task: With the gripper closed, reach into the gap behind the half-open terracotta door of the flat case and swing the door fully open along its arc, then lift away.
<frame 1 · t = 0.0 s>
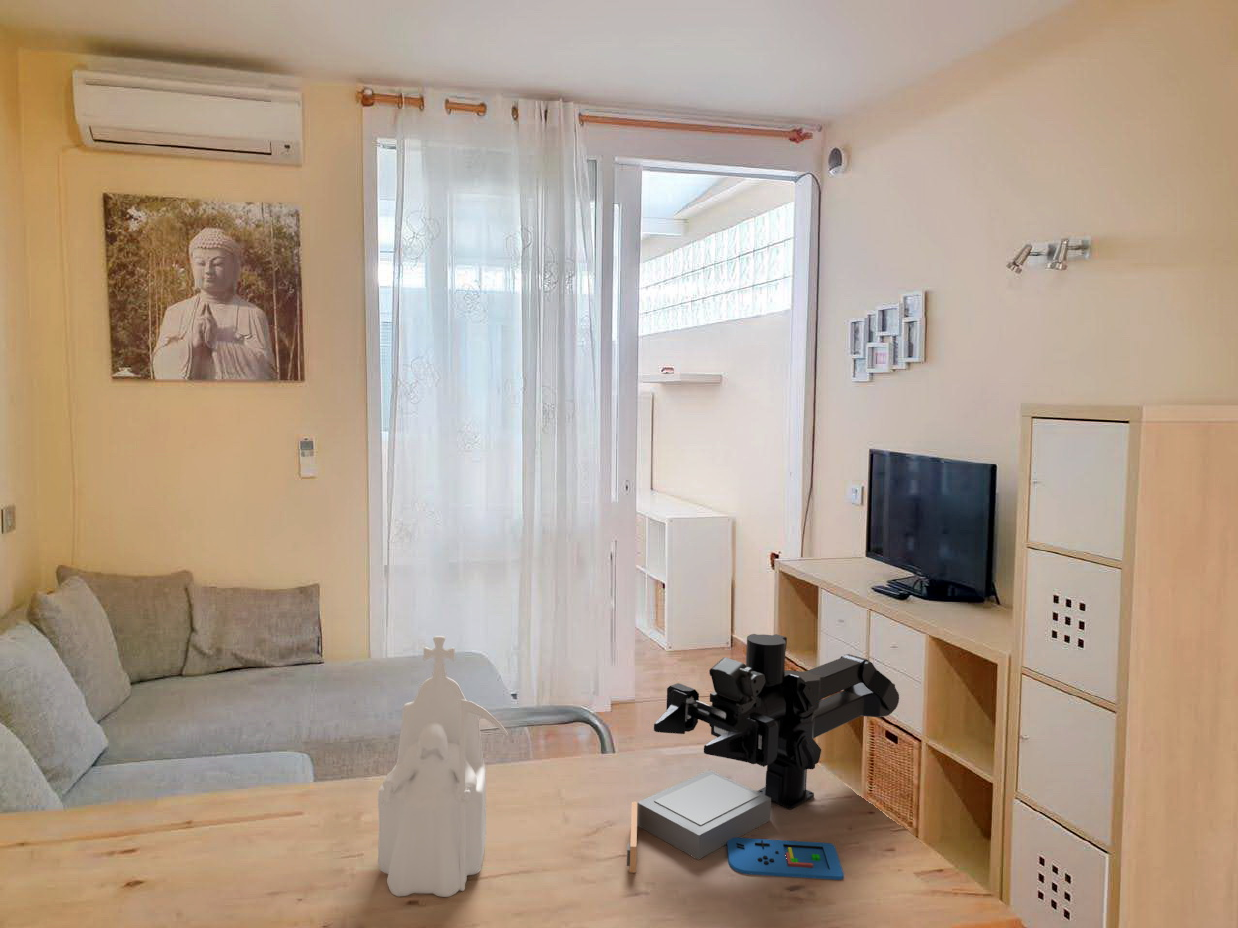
hand: (679, 738, 119), 17 cm above the table, tool horizontal, fingers open, 9 cm apart
case door: (632, 835, 122), point 2 cm above the table, hinge at 45.0°
case: (703, 822, 129), on the table
handheld gaming device: (783, 862, 120), on the table
religious statue: (446, 869, 116), on the table
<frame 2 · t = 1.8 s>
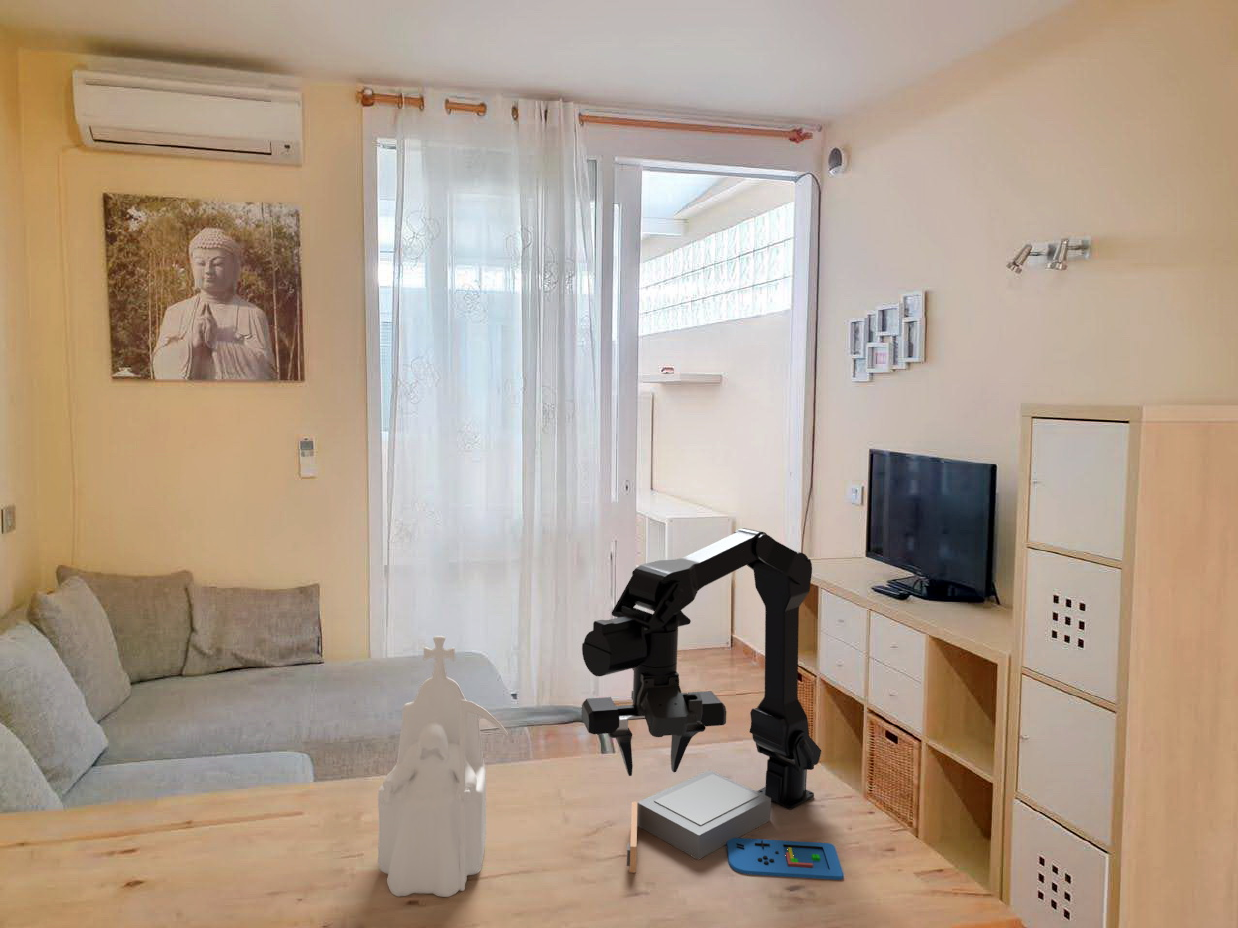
hand: (651, 772, 119), 12 cm above the table, tool pointing down, fingers open, 6 cm apart
nothing on the table moved.
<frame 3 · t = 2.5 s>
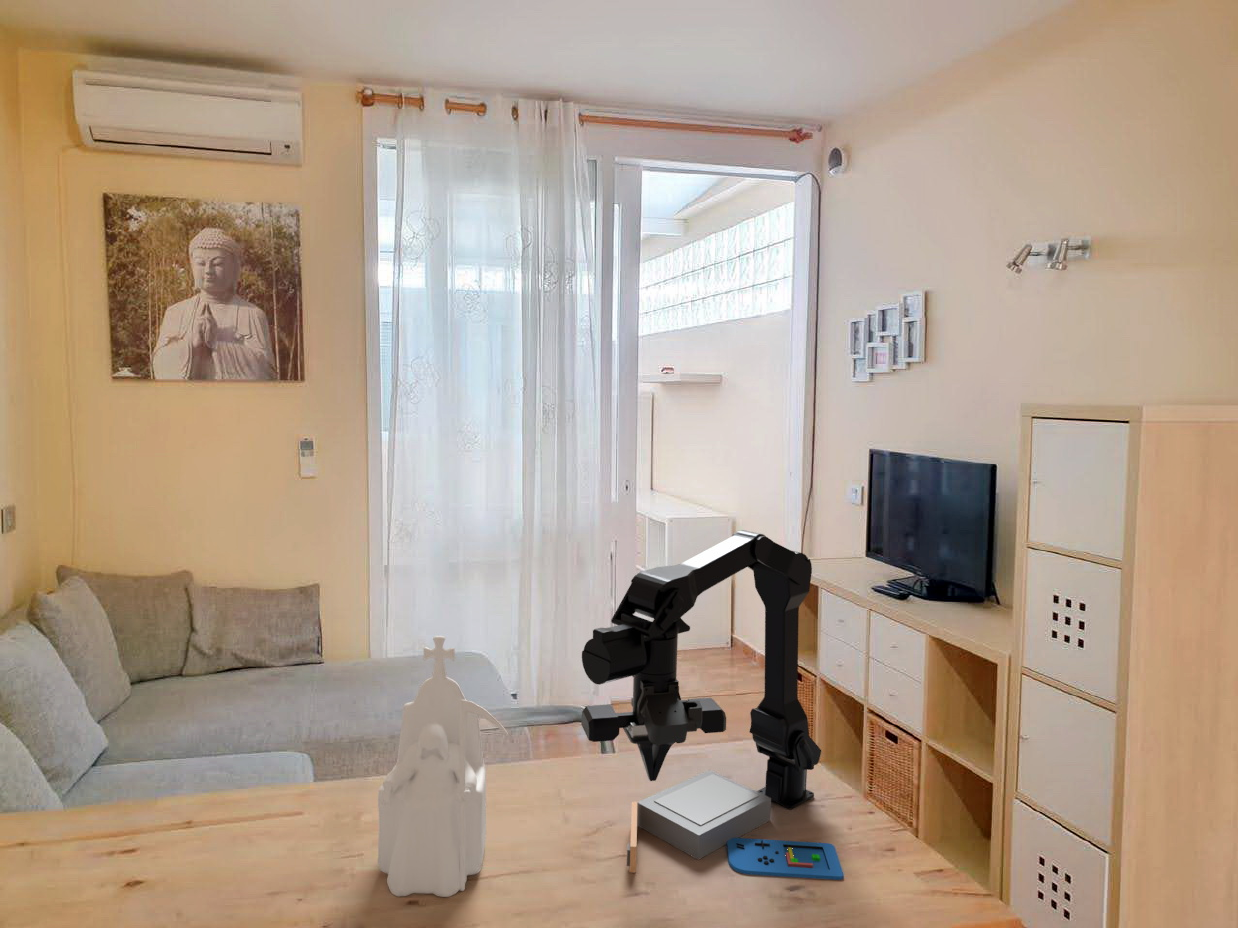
hand: (652, 779, 119), 11 cm above the table, tool pointing down, fingers closed
nothing on the table moved.
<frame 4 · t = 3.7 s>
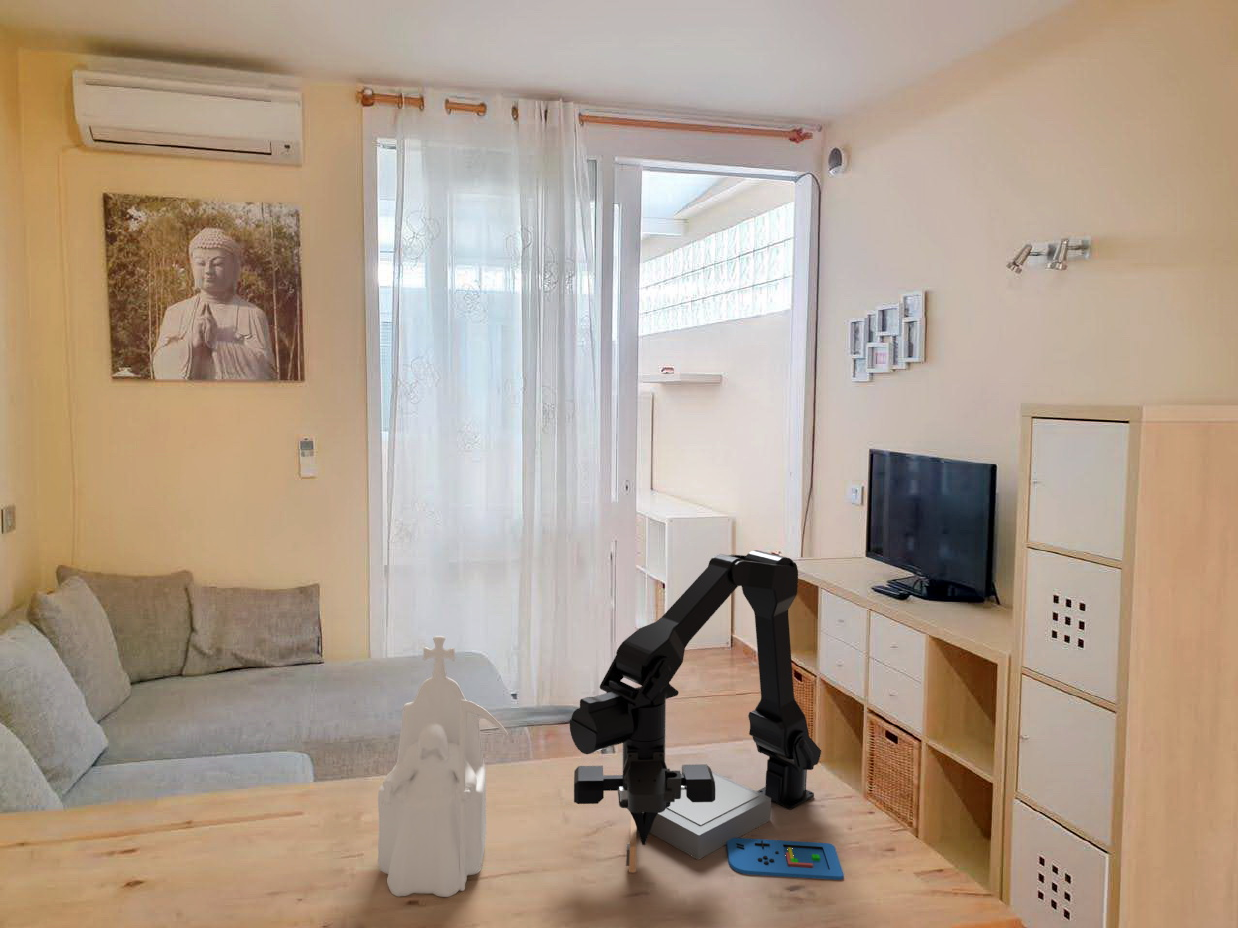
hand: (643, 843, 119), 2 cm above the table, tool pointing down, fingers closed
case door: (631, 835, 122), point 2 cm above the table, hinge at 45.4°, touching gripper
everything else where it was.
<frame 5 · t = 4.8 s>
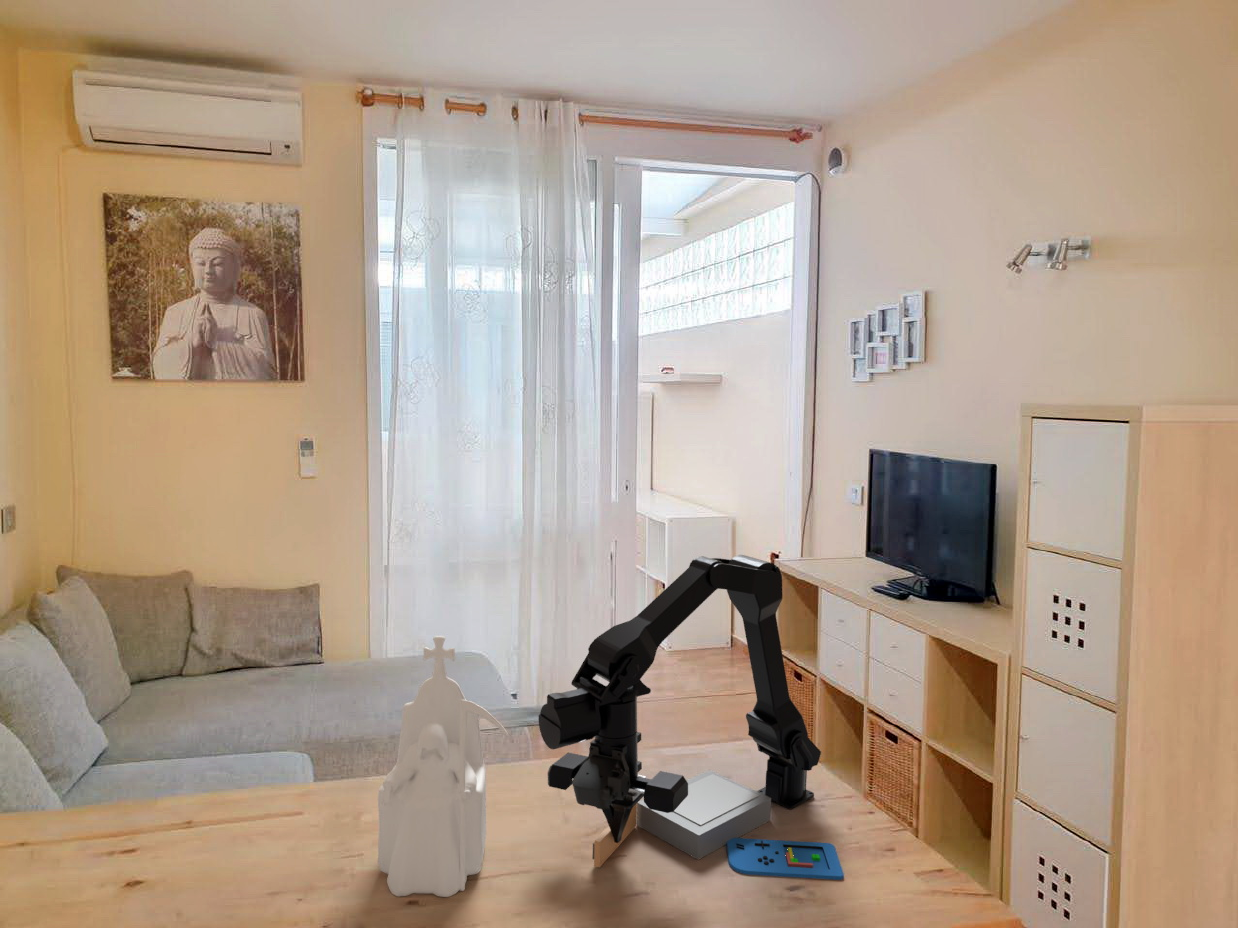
hand: (617, 841, 120), 2 cm above the table, tool pointing down, fingers closed
case door: (615, 832, 122), point 2 cm above the table, hinge at 68.4°, touching gripper
everything else where it was.
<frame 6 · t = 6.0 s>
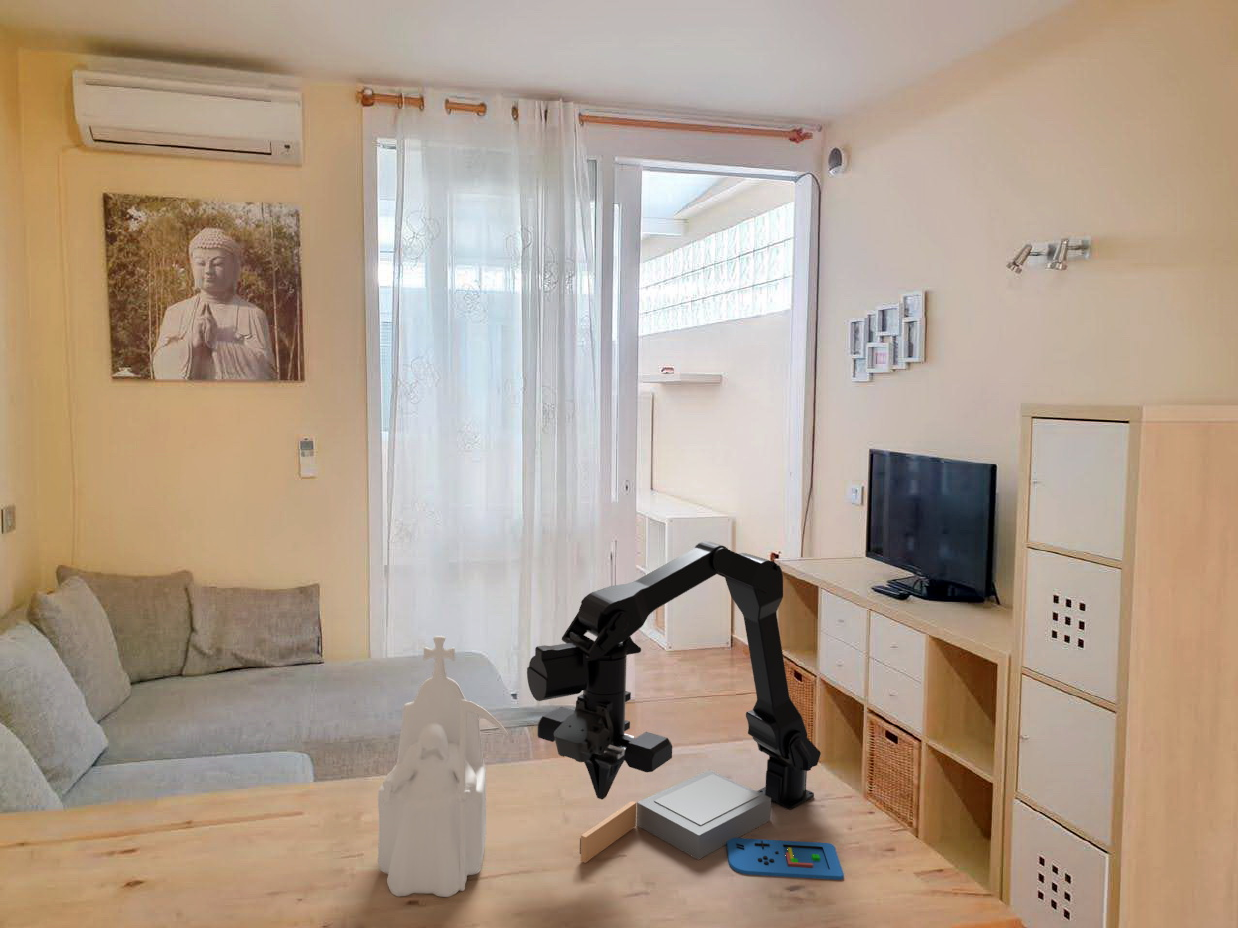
hand: (601, 797, 120), 8 cm above the table, tool pointing down, fingers closed
case door: (608, 829, 123), point 2 cm above the table, hinge at 78.7°
everything else where it was.
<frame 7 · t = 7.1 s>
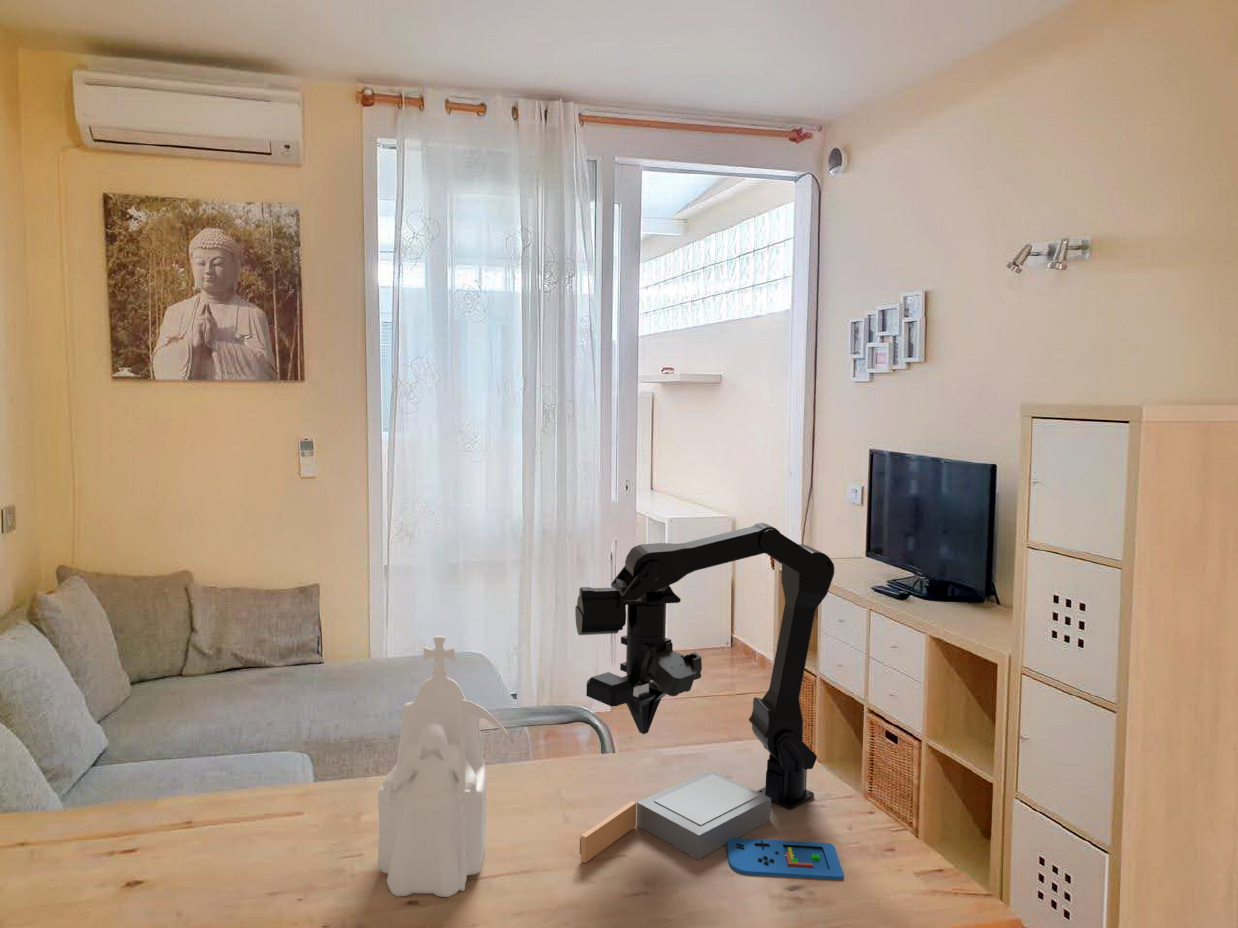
hand: (643, 732, 132), 12 cm above the table, tool pointing down, fingers closed
nothing on the table moved.
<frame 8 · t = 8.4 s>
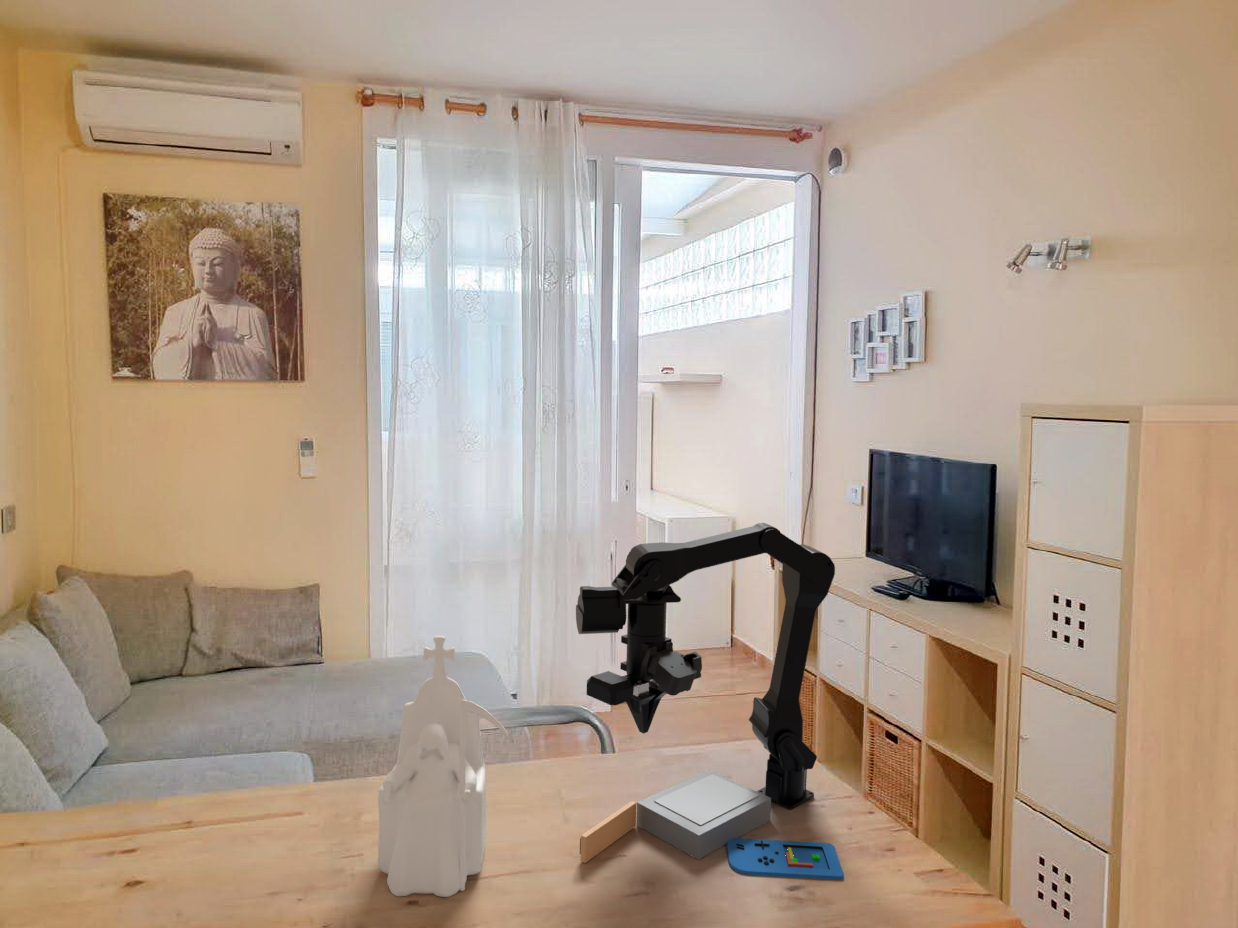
hand: (643, 732, 132), 12 cm above the table, tool pointing down, fingers closed
nothing on the table moved.
at the end: case door at +79° (first picture: +45°); handheld gaming device moved 0.6 cm from its start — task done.
